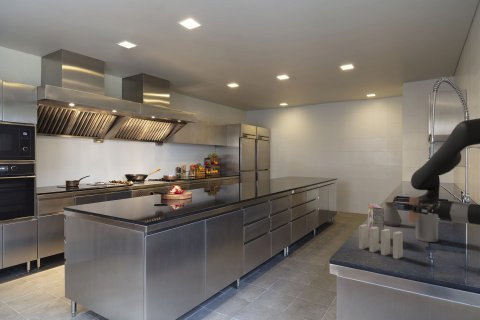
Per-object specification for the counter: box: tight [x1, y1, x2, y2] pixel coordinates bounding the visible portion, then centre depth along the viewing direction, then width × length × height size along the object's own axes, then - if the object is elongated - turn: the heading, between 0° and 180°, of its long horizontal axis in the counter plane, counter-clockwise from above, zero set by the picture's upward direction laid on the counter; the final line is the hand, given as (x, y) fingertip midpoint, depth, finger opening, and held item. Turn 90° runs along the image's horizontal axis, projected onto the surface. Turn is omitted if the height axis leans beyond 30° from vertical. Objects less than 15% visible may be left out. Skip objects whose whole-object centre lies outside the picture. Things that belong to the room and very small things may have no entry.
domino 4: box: [392, 230, 404, 260], centre depth 117 cm, size 4×2×10 cm, turn 125°
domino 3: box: [380, 228, 391, 256], centre depth 121 cm, size 4×2×10 cm, turn 125°
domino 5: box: [408, 196, 420, 223], centre depth 118 cm, size 4×2×10 cm, turn 126°
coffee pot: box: [383, 196, 403, 227], centre depth 176 cm, size 21×12×15 cm, turn 143°
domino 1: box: [358, 223, 369, 250], centre depth 129 cm, size 4×2×10 cm, turn 125°
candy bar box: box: [367, 203, 385, 243], centre depth 143 cm, size 11×5×16 cm, turn 168°
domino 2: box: [369, 227, 380, 253], centre depth 125 cm, size 4×2×10 cm, turn 125°
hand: (407, 206), depth 121 cm, fingers closed on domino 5, 4 cm apart
